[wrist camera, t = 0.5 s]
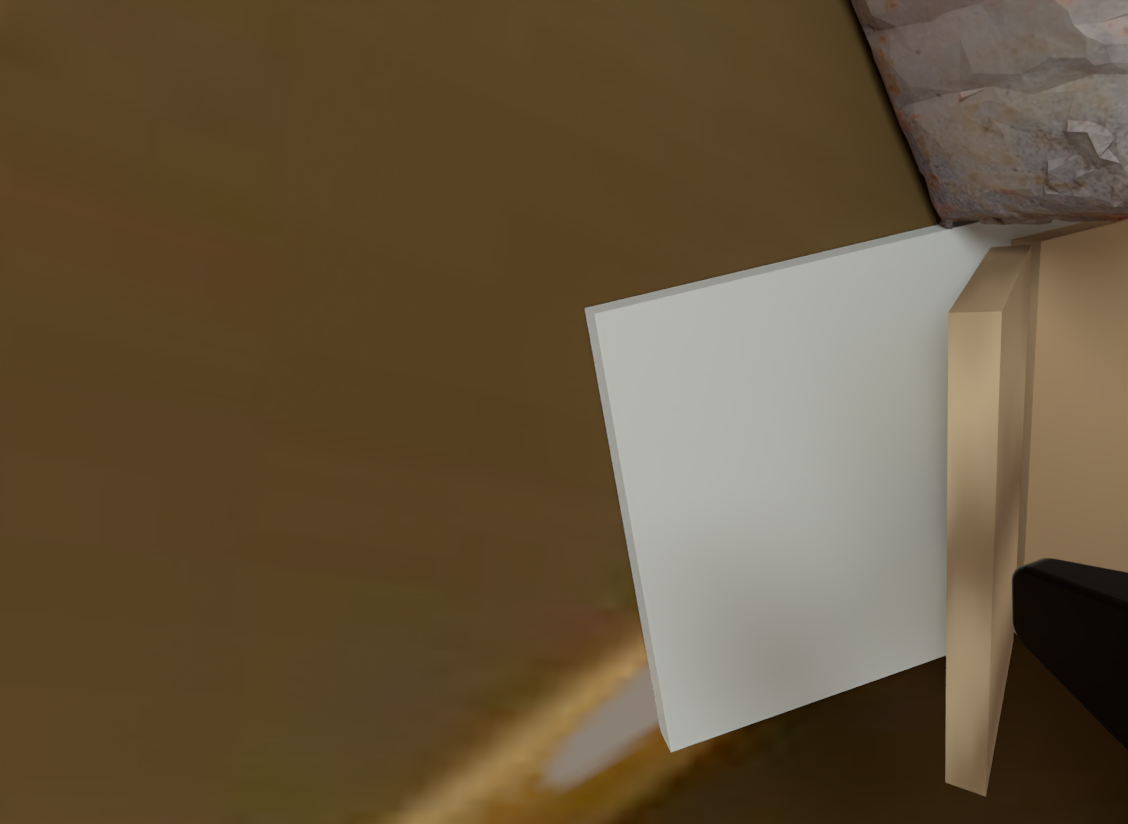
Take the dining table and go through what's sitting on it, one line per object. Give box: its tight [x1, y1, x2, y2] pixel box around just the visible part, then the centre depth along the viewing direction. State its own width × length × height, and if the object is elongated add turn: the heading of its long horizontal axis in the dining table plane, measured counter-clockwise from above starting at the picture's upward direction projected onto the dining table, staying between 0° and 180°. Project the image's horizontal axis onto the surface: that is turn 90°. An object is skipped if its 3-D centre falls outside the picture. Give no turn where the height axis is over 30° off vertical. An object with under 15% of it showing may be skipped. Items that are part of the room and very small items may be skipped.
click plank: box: [945, 244, 1032, 796], centre depth 20 cm, size 14×7×1 cm
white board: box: [585, 218, 1128, 752], centre depth 22 cm, size 16×20×2 cm
